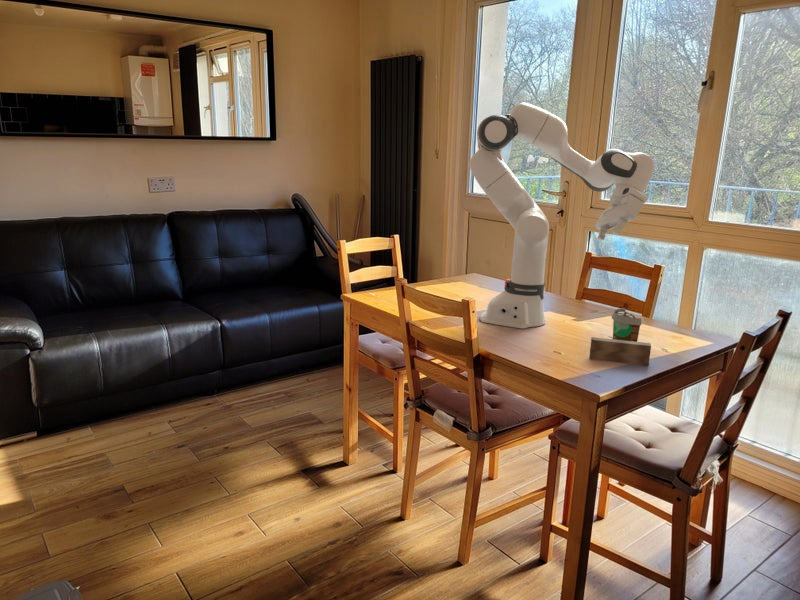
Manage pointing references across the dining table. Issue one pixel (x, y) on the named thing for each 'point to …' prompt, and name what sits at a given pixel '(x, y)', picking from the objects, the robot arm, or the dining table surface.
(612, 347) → the walnut bar
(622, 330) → the food container
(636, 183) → the robot arm
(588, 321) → the dining table surface
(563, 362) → the dining table surface
